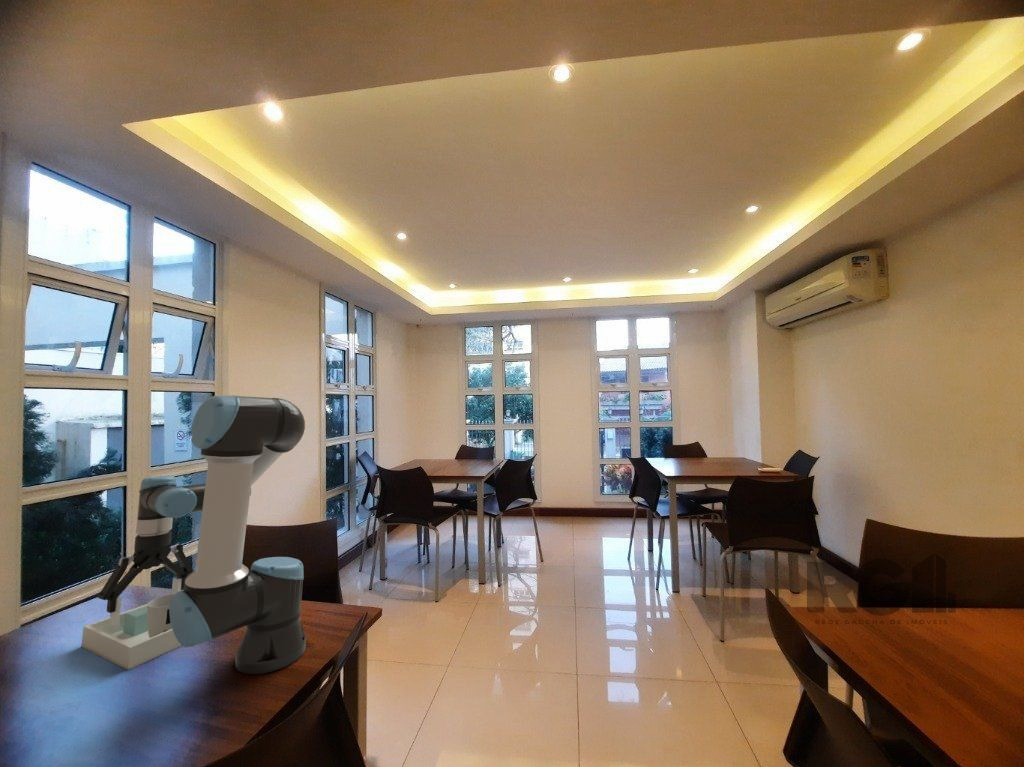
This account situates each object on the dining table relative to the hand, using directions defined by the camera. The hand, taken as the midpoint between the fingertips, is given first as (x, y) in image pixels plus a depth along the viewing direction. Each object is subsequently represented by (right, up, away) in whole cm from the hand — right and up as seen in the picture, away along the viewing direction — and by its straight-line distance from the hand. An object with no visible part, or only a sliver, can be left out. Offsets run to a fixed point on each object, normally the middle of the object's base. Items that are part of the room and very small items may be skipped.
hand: (146, 612), depth 107 cm
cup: (+9, -4, -5) cm, 11 cm away
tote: (+5, -5, -3) cm, 7 cm away
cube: (-1, -4, -1) cm, 4 cm away
